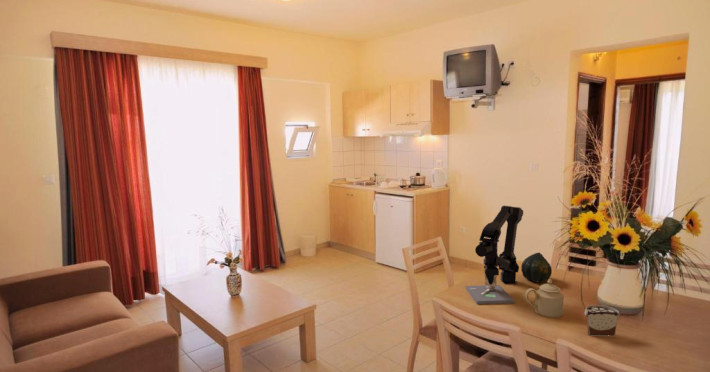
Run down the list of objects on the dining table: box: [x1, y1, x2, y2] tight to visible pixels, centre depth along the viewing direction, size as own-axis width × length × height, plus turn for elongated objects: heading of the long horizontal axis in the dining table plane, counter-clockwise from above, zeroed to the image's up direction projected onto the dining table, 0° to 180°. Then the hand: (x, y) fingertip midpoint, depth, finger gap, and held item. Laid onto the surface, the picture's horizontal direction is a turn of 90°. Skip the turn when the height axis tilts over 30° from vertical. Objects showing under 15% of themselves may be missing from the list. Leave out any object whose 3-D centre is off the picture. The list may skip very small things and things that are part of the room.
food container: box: [584, 304, 621, 337], centre depth 161 cm, size 12×6×10 cm, turn 84°
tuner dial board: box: [465, 284, 515, 305], centre depth 200 cm, size 17×19×2 cm
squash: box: [520, 252, 553, 283], centre depth 218 cm, size 14×15×15 cm
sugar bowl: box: [524, 278, 565, 318], centre depth 178 cm, size 15×11×15 cm
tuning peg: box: [481, 274, 498, 295], centre depth 200 cm, size 12×5×7 cm, turn 138°
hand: (490, 283), depth 203 cm, fingers closed on tuning peg, 3 cm apart
